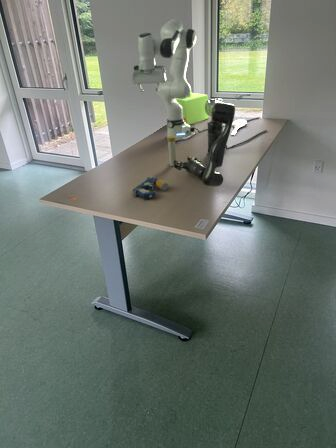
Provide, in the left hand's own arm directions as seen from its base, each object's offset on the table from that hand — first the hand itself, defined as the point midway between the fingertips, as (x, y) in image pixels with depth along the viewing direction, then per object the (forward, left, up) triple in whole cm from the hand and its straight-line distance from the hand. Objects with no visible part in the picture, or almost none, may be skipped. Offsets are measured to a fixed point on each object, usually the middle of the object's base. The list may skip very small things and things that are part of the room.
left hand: (149, 91), depth 198 cm
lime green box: (-79, -37, -40) cm, 96 cm away
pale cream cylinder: (+6, +20, -40) cm, 45 cm away
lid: (+6, +20, -23) cm, 31 cm away
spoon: (-76, +13, -40) cm, 86 cm away
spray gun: (+39, +35, -40) cm, 66 cm away
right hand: (+10, +30, -34) cm, 46 cm away
